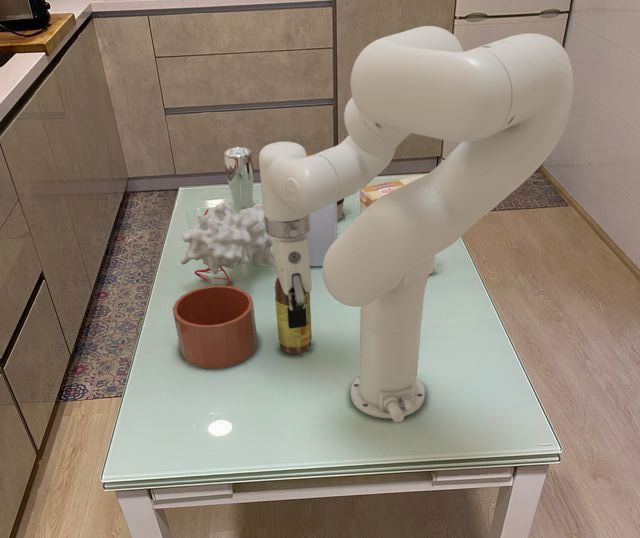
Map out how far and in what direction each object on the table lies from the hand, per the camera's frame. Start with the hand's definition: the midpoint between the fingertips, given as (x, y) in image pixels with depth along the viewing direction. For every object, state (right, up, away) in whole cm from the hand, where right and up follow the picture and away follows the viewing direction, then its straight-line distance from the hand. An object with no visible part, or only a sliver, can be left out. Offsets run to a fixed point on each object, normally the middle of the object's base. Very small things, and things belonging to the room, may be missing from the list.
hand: (293, 315), depth 122 cm
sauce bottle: (0, -5, +5) cm, 7 cm away
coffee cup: (+7, +33, +47) cm, 58 cm away
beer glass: (-15, +36, +52) cm, 64 cm away
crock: (-14, -5, +5) cm, 16 cm away
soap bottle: (+5, +18, +31) cm, 36 cm away
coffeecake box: (+22, +13, +24) cm, 35 cm away
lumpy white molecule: (-14, +13, +25) cm, 32 cm away
